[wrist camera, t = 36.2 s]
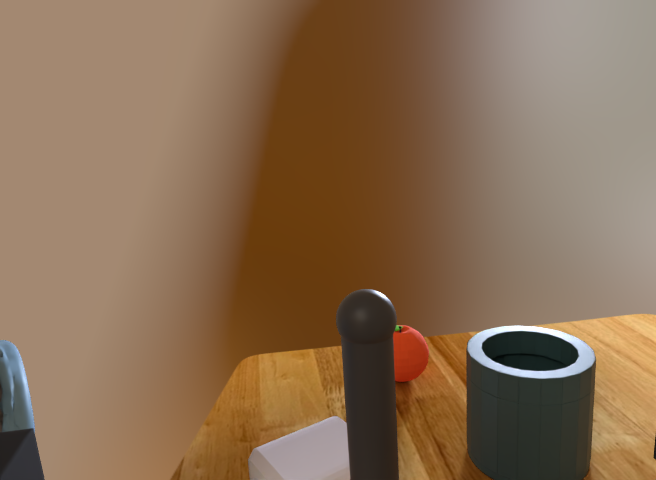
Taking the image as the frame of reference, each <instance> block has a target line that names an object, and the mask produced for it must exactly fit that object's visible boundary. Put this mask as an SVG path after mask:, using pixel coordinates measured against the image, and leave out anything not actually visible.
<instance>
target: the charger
mask: <svg viewBox="0 0 656 480" xmlns="http://www.w3.org/2000/svg"><path fill="white" fill-rule="evenodd" d="M248 465H249V474H250V480H350V468H349V452H348V436H347V423H346V422H345V421H344V420H342V419H341V418H339V417H337V416H333V417H330V418H328V419H325V420H323V421H320V422H318V423H316V424H313V425H311V426H308V427H306V428H303V429H301V430H298V431H296V432H293V433H291V434H289V435H286V436H284V437H281V438H279V439H276V440H274V441H271V442H269V443H267V444H264V445H262V446H259V447H257V448H254V449H253V451H252V453H251V455H250V457H249V459H248Z"/></svg>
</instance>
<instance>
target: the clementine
mask: <svg viewBox="0 0 656 480" xmlns="http://www.w3.org/2000/svg"><path fill="white" fill-rule="evenodd" d="M393 343H394V369H395V381H397V382H407V381H410V380H413V379H415V378H417V377H418V376H419V375H420V374H421V373H422V372H423V371H424V369H425V368H426V365H427V363H428V357H429V350H428V346H427V343H426V341H425V339H424V337H423V336H422V335H421V334H420V333H419V332H418V331H416V330H414V329H413V328H411V327H408V326H404V325H396V328H395V331H394V333H393Z"/></svg>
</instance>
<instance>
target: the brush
mask: <svg viewBox="0 0 656 480" xmlns="http://www.w3.org/2000/svg"><path fill="white" fill-rule="evenodd" d="M396 320H397V318H396V312H395V309H394V306H393V305H392V303H391V302H390V300H389V299H388V298H387V297H386V296H385V295H383V294H382V293H380V292H378V291H375V290H370V289H362V290H358V291H355V292H352V293H351V294H349V295H348V296H347V297H345V299H344V300H343V301H342V302H341V304H340V305H339V308H338V310H337V315H336V324H337V328H338V331H339V334H340V335H341V342H342V358H343V374H344V389H345V405H346V421H347V436H348V452H349V468H350V480H399V470H398V445H397V420H396V394H395V369H394V343H393V333H394V331H395V328H396V322H397V321H396Z"/></svg>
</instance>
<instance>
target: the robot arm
mask: <svg viewBox="0 0 656 480" xmlns="http://www.w3.org/2000/svg"><path fill="white" fill-rule="evenodd" d="M34 427H35V426H34V418H33V410H32V404H31V398H30V392H29V388H28V382H27V378H26V373H25V369H24V366H23V362H22V359H21V356H20V354H19V351H18V349H17V347H16V346H15V345H14V344H12V343H11V342H9V341H6V340H0V480H44V475H43V470H42V466H41V461H40V457H39V453H38V447H37V442H36V438H35V428H34ZM654 459H656V437H655V448H654Z"/></svg>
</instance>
